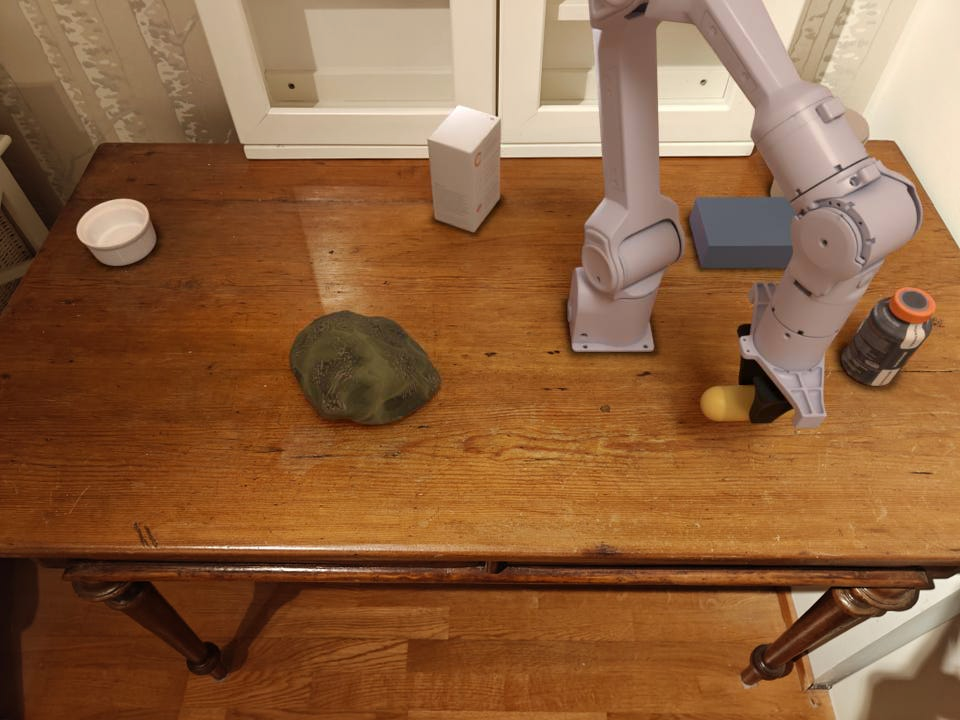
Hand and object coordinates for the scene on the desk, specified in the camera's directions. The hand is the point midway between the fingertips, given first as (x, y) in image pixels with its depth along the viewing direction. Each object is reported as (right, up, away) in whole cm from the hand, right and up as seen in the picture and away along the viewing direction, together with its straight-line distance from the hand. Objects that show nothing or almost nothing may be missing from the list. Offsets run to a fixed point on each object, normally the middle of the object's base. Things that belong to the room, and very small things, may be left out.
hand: (754, 402), depth 67 cm
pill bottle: (+18, +3, +13) cm, 22 cm away
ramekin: (-73, +19, +26) cm, 80 cm away
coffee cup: (+18, +27, +30) cm, 44 cm away
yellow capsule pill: (0, 0, 0) cm, 0 cm away
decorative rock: (-39, +1, +12) cm, 41 cm away
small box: (-28, +25, +29) cm, 48 cm away
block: (+9, +19, +25) cm, 33 cm away
